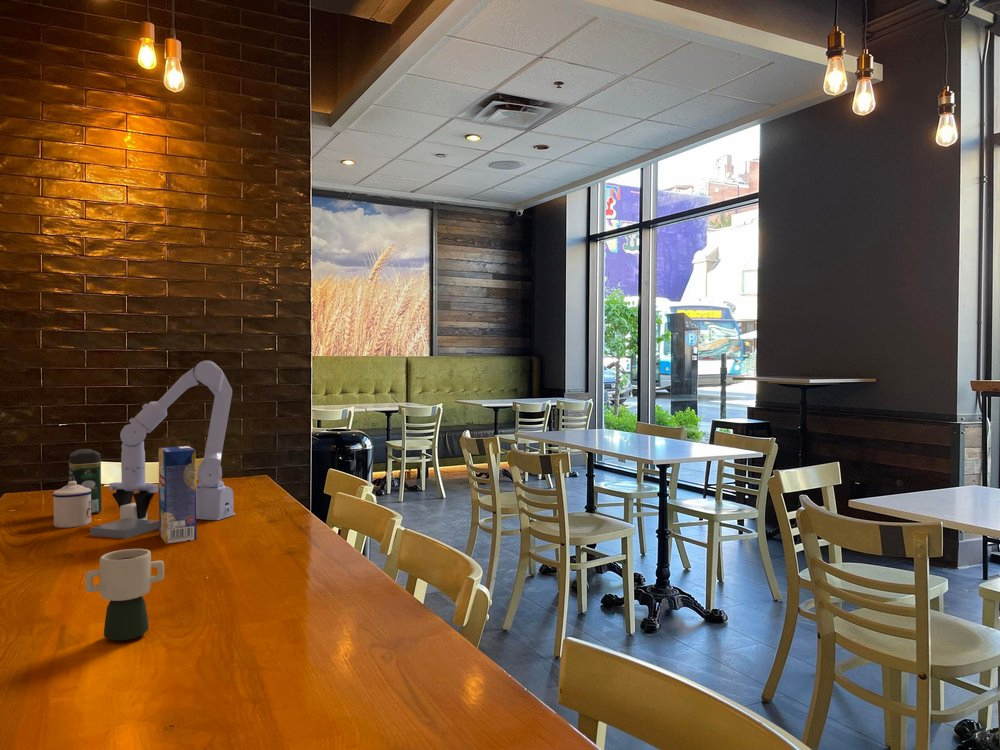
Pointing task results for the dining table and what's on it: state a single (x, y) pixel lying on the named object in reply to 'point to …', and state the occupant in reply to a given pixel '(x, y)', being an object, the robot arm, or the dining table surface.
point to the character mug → (125, 590)
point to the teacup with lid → (72, 506)
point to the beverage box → (177, 494)
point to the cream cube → (129, 512)
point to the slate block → (124, 528)
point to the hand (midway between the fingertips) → (133, 517)
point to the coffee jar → (87, 474)
